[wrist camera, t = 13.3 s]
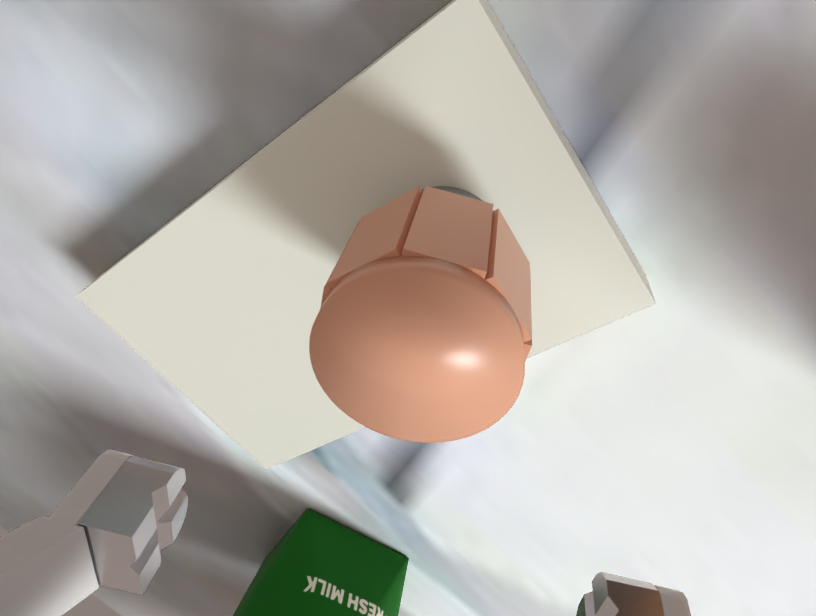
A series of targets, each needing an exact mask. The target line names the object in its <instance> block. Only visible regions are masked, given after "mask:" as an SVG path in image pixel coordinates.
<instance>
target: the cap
mask: <svg viewBox="0 0 816 616" xmlns="http://www.w3.org/2000/svg"><path fill="white" fill-rule="evenodd" d="M531 347H532V320H531V279H530V262H529V261H528V259H527V257H526V255H525V254H524V252H523V250H522V248H521V247H520V245H519V243H518V241H517V240H516V238H515V236H514V234H513V232H512V231H511V229H510V227H509V225H508V224H507V222H506V220H505V218H504V217H503V215H502V213H501V211H500V210H499V208H498V209H496V210H494V211H493V204H491V203H487V202H484V201H480V200H476V199H473V198H469V197H466V196H462V195H458V194H455V193H451V192H448V191H444V190H440V189H437V188H433V187H430V186H426V185H425V188H424V191H423V192H422V190H421V189H420V187H419V186H418V187H416V188H414V189H412V190H410V191H409V192H407V193H405V194H403V195H401V196H399V197H397V198H396V199H394V200H392V201H390V202H388V203H386V204H384V205H383V206H381V207H379V208H377V209H375V210H373V211H371V212H370V213H368V214H366V215H364V216H362V218H361V220H360V221H359V222H358V224H357V226H356V228H355V229H354V231H353V233H352V235H351V237H350V239H349V241H348V243H347V245H346V247H345V248H344V250H343V252H342V254H341V256H340V258H339V260H338V262H337V264H336V265H335V267H334V269H333V271H332V273H331V275H330V277H329V279H328V281H327V283H326V284H325V286H324V289H323V295H322V301H321V308H320V311H319V313H318V315H317V317H316V319H315V321H314V324H313V326H312V330H311V334H310V340H309V353H310V361H311V365H312V369H313V371H314V374H315V376H316V379H317V381H318V382H319V384H320V386H321V387H322V389H323V391H324V392H325V393H326V395H327V396H328V397H329V399H330V400H331V401H332V402H333V403H334V404H335V405H336V406H337V407H338V408H339V409H340V410H342V411H343V412H344V413H345V414H346V415H348V416H349V417H350V418H352V419H353V420H355V421H356V422H358V423H360V424H362V425H363V426H365V427H367V428H369V429H371V430H373V431H376V432H378V433H380V434H383V435H386V436H389V437H393V438H397V439H401V440H406V441H413V442H426V443H434V442H447V441H454V440H458V439H462V438H466V437H469V436H472V435H474V434H477V433H479V432H481V431H483V430H485V429H487V428H489V427H490V426H492V425H493V424H495V423H496V422H497V421H499V420H500V419H501V418H502V417H503V416H504V415H505V414H506V413H507V412H508V411H509V410H510V408H511V407H512V406H513V404H514V403H515V401H516V399H517V397H518V396H519V393H520V390H521V388H522V385H523V380H524V374H525V360H526V358H527V356H528V354H529V352H530V349H531Z"/></svg>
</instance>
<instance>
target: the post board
mask: <svg viewBox="0 0 816 616" xmlns="http://www.w3.org/2000/svg"><path fill="white" fill-rule="evenodd" d="M425 185H426V186H430V187H433V188H437V189H440V190H444V191H448V192H451V193H455V194H458V195H462V196H466V197H469V198H473V199H476V200H480V201H484V202H487V203H491V204H493V211H494V210H496V209H498V208H499V210H500V211H501V213H502V215H503V217H504V218H505V220H506V222H507V224H508V225H509V227H510V229H511V231H512V232H513V234H514V236H515V238H516V240H517V241H518V243H519V245H520V247H521V248H522V250H523V252H524V254H525V255H526V257H527V259H528V261H529V262H530V279H531V320H532V347H531V349H530V352H529V354H528V356H527V358H529V357H531V356H534V355H536V354H539V353H541V352H543V351H546V350H548V349H550V348H553V347H555V346H557V345H560V344H562V343H564V342H567V341H569V340H571V339H574V338H576V337H578V336H581V335H583V334H585V333H588V332H590V331H593V330H595V329H597V328H600V327H602V326H604V325H607V324H609V323H611V322H614V321H616V320H618V319H621V318H623V317H625V316H628V315H630V314H632V313H635V312H637V311H639V310H642V309H644V308H646V307H649V306H651V305H654V304H656V303H655V300H654V297H653V294H652V291H651V288H650V285H649V283H648V280H647V277H646V274H645V272H644V271H643V269H642V267H641V266H640V264H639V262H638V260H637V259H636V257H635V255H634V253H633V252H632V250H631V248H630V247H629V245H628V243H627V241H626V240H625V238H624V236H623V234H622V233H621V231H620V229H619V228H618V226H617V224H616V222H615V221H614V219H613V217H612V215H611V214H610V212H609V210H608V208H607V207H606V205H605V203H604V202H603V200H602V198H601V196H600V195H599V193H598V191H597V189H596V188H595V186H594V184H593V183H592V181H591V179H590V177H589V176H588V174H587V172H586V170H585V169H584V167H583V165H582V164H581V162H580V160H579V158H578V157H577V155H576V153H575V151H574V150H573V148H572V146H571V145H570V143H569V141H568V139H567V138H566V136H565V134H564V132H563V131H562V129H561V127H560V125H559V124H558V122H557V120H556V119H555V117H554V115H553V113H552V112H551V110H550V108H549V106H548V105H547V103H546V101H545V100H544V98H543V96H542V94H541V93H540V91H539V89H538V87H537V86H536V84H535V82H534V81H533V79H532V77H531V75H530V74H529V72H528V70H527V68H526V67H525V65H524V63H523V61H522V60H521V58H520V56H519V55H518V53H517V51H516V49H515V48H514V46H513V44H512V42H511V41H510V39H509V37H508V36H507V34H506V32H505V30H504V29H503V27H502V25H501V23H500V22H499V20H498V18H497V17H496V15H495V13H494V11H493V10H492V8H491V6H490V4H489V3H488V1H487V0H452V1H451V2H450V3H448V4H447V5H446V6H444V7H443V8H442V9H441V10H439V11H438V12H437V13H435V14H434V15H433V16H432V17H430V18H429V19H428V20H426V21H425V22H424V23H423V24H421V25H420V26H419V27H418V28H416V29H415V30H414V31H412V32H411V33H410V34H409V35H407V36H406V37H405V38H403V39H402V40H401V41H400V42H398V43H397V44H396V45H394V46H393V47H392V48H391V49H389V50H388V51H387V52H385V53H384V54H383V55H382V56H380V57H379V58H378V59H377V60H375V61H374V62H373V63H371V64H370V65H369V66H368V67H366V68H365V69H364V70H362V71H361V72H360V73H359V74H357V75H356V76H355V77H353V78H352V79H351V80H350V81H348V82H347V83H346V84H345V85H343V86H342V87H341V88H339V89H338V90H337V91H336V92H334V93H333V94H332V95H330V96H329V97H328V98H327V99H325V100H324V101H323V102H321V103H320V104H319V105H318V106H316V107H315V108H314V109H312V110H311V111H310V112H309V113H307V114H306V115H305V116H304V117H302V118H301V119H300V120H298V121H297V122H296V123H295V124H293V125H292V126H291V127H289V128H288V129H287V130H286V131H284V132H283V133H282V134H280V135H279V136H278V137H277V138H275V139H274V140H273V141H272V142H270V143H269V144H268V145H266V146H265V147H264V148H263V149H261V150H260V151H259V152H257V153H256V154H255V155H254V156H252V157H251V158H250V159H248V160H247V161H246V162H245V163H243V164H242V165H241V166H239V167H238V168H237V169H236V170H234V171H233V172H232V173H231V174H229V175H228V176H227V177H225V178H224V179H223V180H222V181H220V182H219V183H218V184H216V185H215V186H214V187H213V188H211V189H210V190H209V191H207V192H206V193H205V194H204V195H202V196H201V197H200V198H198V199H197V200H196V201H195V202H193V203H192V204H191V205H190V206H188V207H187V208H186V209H184V210H183V211H182V212H181V213H179V214H178V215H177V216H175V217H174V218H173V219H172V220H170V221H169V222H168V223H166V224H165V225H164V226H163V227H161V228H160V229H159V230H158V231H156V232H155V233H154V234H152V235H151V236H150V237H149V238H147V239H146V240H145V241H143V242H142V243H141V244H140V245H138V246H137V247H136V248H134V249H133V250H132V251H131V252H129V253H128V254H127V255H125V256H124V257H123V258H122V259H120V260H119V261H118V262H117V263H115V264H114V265H113V266H111V267H110V268H109V269H108V270H106V271H105V272H104V273H103V274H101V275H100V276H99V277H98V278H97V279H96V280H94V281H93V282H92V283H91V284H90V285H89V286H87V287H86V288H85V289H84V290H83V291H82V292H80V293H79V294H78V295H77V296H76V297H77V298H78V299H79V300H80V301H81V302H82V303H83V304H84V305H85V306H86V307H88V308H89V309H90V310H91V311H92V312H93V313H94V314H95V315H96V316H97V317H98V318H100V319H101V320H102V321H103V322H104V323H105V324H106V325H107V326H108V327H109V328H111V329H112V330H113V331H114V332H115V333H116V334H117V335H118V336H119V337H120V338H122V339H123V340H124V341H125V342H126V343H127V344H128V345H129V346H130V347H131V348H132V349H134V350H135V351H136V352H137V353H138V354H139V355H140V356H141V357H142V358H143V359H145V360H146V361H147V362H148V363H149V364H150V365H151V366H152V367H153V368H154V369H156V370H157V371H158V372H159V373H160V374H161V375H162V376H163V377H164V378H165V379H166V380H168V381H169V382H170V383H171V384H172V385H173V386H174V387H175V388H176V389H177V390H179V391H180V392H181V393H182V394H183V395H184V396H185V397H186V398H187V399H188V400H190V401H191V402H192V403H193V404H194V405H195V406H196V407H197V408H198V409H199V410H200V411H202V412H203V413H204V414H205V415H206V416H207V417H208V418H209V419H210V420H211V421H213V422H214V423H215V424H216V425H217V426H218V427H219V428H220V429H221V430H222V431H224V432H225V433H226V434H227V435H228V436H229V437H230V438H231V439H232V440H233V441H235V442H236V443H237V444H238V445H239V446H240V447H241V448H242V449H243V450H244V451H245V452H247V453H248V454H249V455H250V456H251V457H252V458H253V459H254V460H255V461H256V462H258V463H259V464H260V465H261V466H262V467H263V468H264V469H265V470H266V469H269V468H271V467H273V466H276V465H278V464H280V463H283V462H285V461H287V460H290V459H292V458H294V457H297V456H299V455H301V454H304V453H306V452H308V451H311V450H313V449H316V448H318V447H320V446H323V445H325V444H327V443H330V442H332V441H334V440H337V439H339V438H341V437H344V436H346V435H348V434H351V433H353V432H355V431H358V430H360V429H362V428H365V426H363V425H362V424H360V423H358V422H356V421H355V420H353V419H352V418H350V417H349V416H348V415H346V414H345V413H344V412H343V411H342V410H340V409H339V408H338V407H337V406H336V405H335V404H334V403H333V402H332V401H331V400H330V399H329V397H328V396H327V395H326V393H325V392H324V391H323V389H322V387H321V386H320V384H319V382H318V381H317V379H316V376H315V374H314V371H313V369H312V365H311V361H310V353H309V340H310V334H311V330H312V326H313V324H314V321H315V319H316V317H317V315H318V313H319V311H320V308H321V301H322V295H323V289H324V286H325V284H326V283H327V281H328V279H329V277H330V275H331V273H332V271H333V269H334V267H335V265H336V264H337V262H338V260H339V258H340V256H341V254H342V252H343V250H344V248H345V247H346V245H347V243H348V241H349V239H350V237H351V235H352V233H353V231H354V229H355V228H356V226H357V224H358V222H359V221H360V220H361V218H362V216H364V215H366V214H368V213H370V212H371V211H373V210H375V209H377V208H379V207H381V206H383V205H384V204H386V203H388V202H390V201H392V200H394V199H396V198H397V197H399V196H401V195H403V194H405V193H407V192H409V191H410V190H412V189H414V188H416V187H418V186H419V187H420V189H421V190H422V192H423V191H424V188H425ZM527 358H526V359H527Z"/></svg>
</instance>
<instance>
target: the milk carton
mask: <svg viewBox="0 0 816 616" xmlns="http://www.w3.org/2000/svg"><path fill="white" fill-rule="evenodd" d="M408 560H409V558H407V557H405V556H403V555H401V554H399V553H397V552H395V551H393V550H391V549H389V548H387V547H385V546H383V545H381V544H379V543H377V542H375V541H373V540H371V539H369V538H367V537H365V536H363V535H361V534H359V533H357V532H355V531H353V530H351V529H349V528H347V527H344V526H342V525H340V524H338V523H336V522H334V521H332V520H330V519H328V518H326V517H324V516H322V515H320V514H318V513H316V512H314V511H312V510H310V509H307V510H306V511H305V512H304V513H303V515H302V516H301V517H300V518H299V519H298V520H297V522H296V523H295V524H294V525H293V526H292V528H291V529H290V530H289V531H288V532H287V533H286V535H285V536H284V537H283V538H282V539H281V541H280V542H279V543H278V544H277V545H276V546H275V548H274V549H273V550H272V551H271V552H270V554H269V555H268V556H267V557H266V558H265V559H264V561H263V563H262V565H261V566H260V568H259V570H258V572H257V574H256V576H255V577H254V579H253V581H252V583H251V585H250V587H249V588H248V590H247V592H246V593H245V595H244V597H243V599H242V600H241V602H240V604H239V606H238V607H237V609H236V611H235V613H234V615H233V616H398V613H399V607H400V602H401V596H402V591H403V585H404V580H405V575H406V570H407V565H408Z"/></svg>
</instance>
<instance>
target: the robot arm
mask: <svg viewBox="0 0 816 616" xmlns="http://www.w3.org/2000/svg"><path fill="white" fill-rule="evenodd" d="M185 481H186V475H185V469H183V468H179V467H175V466H171V465H168V464H164V463H160V462H156V461H153V460H149V459H145V458H141V457H137V456H135V455H131V454H127V453H123V452H119V451H115V450H111V449H108V450H107V451H105V452H104V453H102V454H101V455H99V457H98V458H97V459H96V460H95V462H94V463H93V464H92V465H91V466H90V468H89V469H88V470H87V471H86V472H85V474H84V475H83V476H82V477H81V479H80V480H79V481H78V482H77V483H76V485H75V486H74V487H73V488H72V489H71V491H70V492H69V493H68V494H67V496H66V497H65V498H64V499H63V500H62V502H61V503H60V504H59V505H58V507H57V508H56V509H55V510H54V511H53V513H52V514H51V515H50V516H49V517H44V516H40V517H38V518H36V519H34V520H32V521H30V522H28V523H26V524H24V525H22V526H20V527H18V528H16V529H14V530H12V531H10V532H8V533H6V534H4V535H2V536H0V616H61V615H63V614H64V613H65V612H67V611H68V610H70V609H71V608H72V607H74V606H75V605H76V604H78V603H79V602H80V601H82V600H83V599H85V598H86V597H87V596H89V595H90V594H92V593H93V592H94V591H96V590H97V589H98V588H99V585H101V586H105V587H109V588H114V589H118V590H122V591H127V592H131V593H135V594H140V595H143V594H144V592H145V590H146V589H147V587H148V585H149V583H150V582H151V580H152V578H153V577H154V575H155V573H156V572H157V570H158V568H159V566H160V565H161V556H160V550H162V549H163V548H165V547H167V546H168V545H170V544H172V543H173V542H174V540H175V539H176V537H177V535H178V533H179V531H180V530H181V527H182V525H183V522H184V519H185V516H186V514H187V507H188V495H187V494H186V493H185V491H184V490H183V489H182V486H183V485H184V483H185ZM592 587H593V591H592V592H590V593H587V594H584V596H583V598H582V600H581V602H580V603H579V606H578V611H577V615H576V616H691V613H690V609H689V605H688V601H687V598H686V597H685V595H684V594H683V592H680V591H678V590H673V589H669V588H665V587H660V586H656V585H653V584H652V583H647V582H643V581H639V580H634V579H630V578H626V577H621V576H617V575H613V574H608V573H604V572H600V573H598V574H596V576H595V578H594V579H593V581H592Z"/></svg>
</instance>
